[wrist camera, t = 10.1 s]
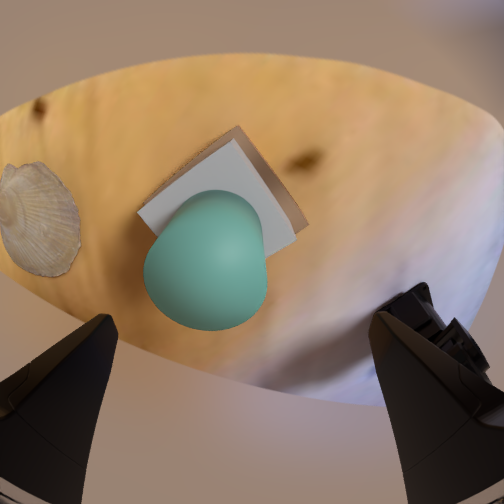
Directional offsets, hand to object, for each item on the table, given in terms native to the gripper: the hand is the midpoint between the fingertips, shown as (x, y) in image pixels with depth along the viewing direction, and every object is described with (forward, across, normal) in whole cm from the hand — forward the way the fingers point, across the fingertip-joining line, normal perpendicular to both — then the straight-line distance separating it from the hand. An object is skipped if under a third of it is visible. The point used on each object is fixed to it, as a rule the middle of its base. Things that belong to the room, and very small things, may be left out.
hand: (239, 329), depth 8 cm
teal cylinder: (+7, +2, 0) cm, 8 cm away
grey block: (+10, +2, -1) cm, 11 cm away
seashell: (+13, +20, 0) cm, 24 cm away
